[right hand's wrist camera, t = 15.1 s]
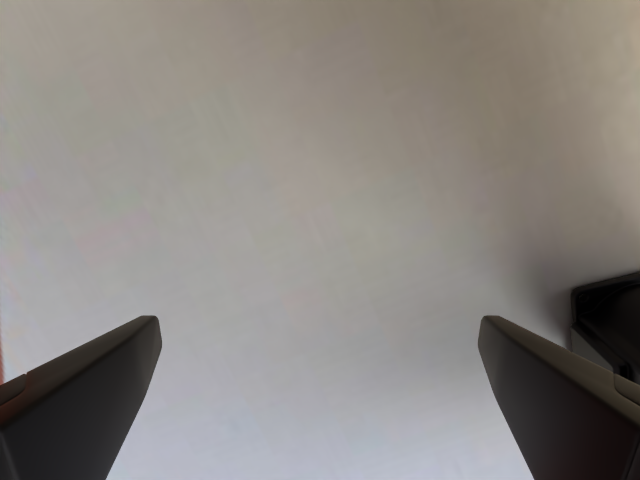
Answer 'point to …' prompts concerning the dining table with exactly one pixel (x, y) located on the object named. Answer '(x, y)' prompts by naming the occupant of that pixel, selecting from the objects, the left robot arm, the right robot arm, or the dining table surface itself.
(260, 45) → the dining table surface
